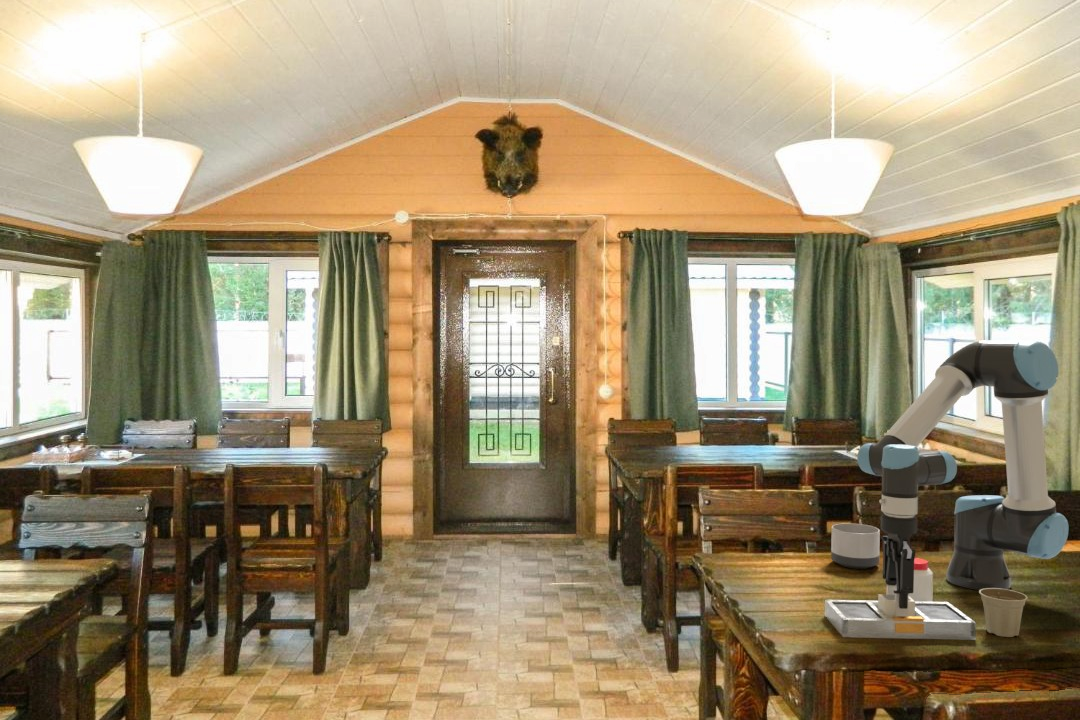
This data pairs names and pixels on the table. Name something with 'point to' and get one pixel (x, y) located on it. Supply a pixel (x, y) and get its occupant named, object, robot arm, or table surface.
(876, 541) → the planter
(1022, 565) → the table surface
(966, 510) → the robot arm
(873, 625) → the tray
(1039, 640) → the table surface
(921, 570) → the pill bottle
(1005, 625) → the flower pot
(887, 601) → the white block
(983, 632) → the table surface
